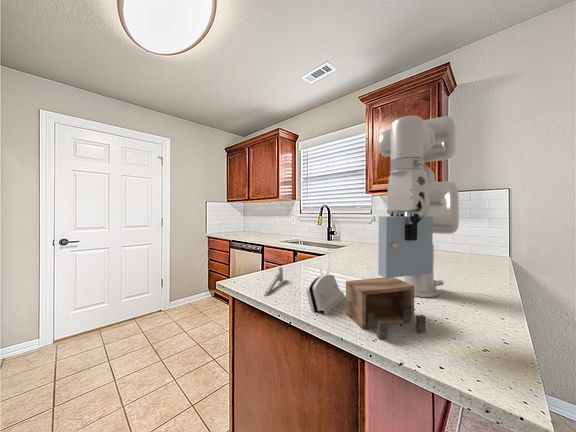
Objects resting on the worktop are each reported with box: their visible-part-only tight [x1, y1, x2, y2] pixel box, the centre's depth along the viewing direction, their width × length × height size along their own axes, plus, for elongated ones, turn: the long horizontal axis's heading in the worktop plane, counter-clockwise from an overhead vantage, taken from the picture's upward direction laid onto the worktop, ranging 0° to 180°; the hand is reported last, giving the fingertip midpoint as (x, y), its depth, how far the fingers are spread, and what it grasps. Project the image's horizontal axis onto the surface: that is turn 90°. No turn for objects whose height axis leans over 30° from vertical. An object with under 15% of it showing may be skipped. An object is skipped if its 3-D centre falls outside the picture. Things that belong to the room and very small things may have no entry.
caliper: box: [263, 266, 284, 297], centre depth 96 cm, size 20×1×6 cm, turn 164°
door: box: [377, 215, 434, 278], centre depth 61 cm, size 4×14×15 cm, turn 105°
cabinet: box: [345, 277, 427, 340], centre depth 66 cm, size 14×16×10 cm
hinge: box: [306, 274, 346, 316], centre depth 79 cm, size 17×5×10 cm, turn 147°
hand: (405, 238), depth 61 cm, fingers closed on door, 3 cm apart
